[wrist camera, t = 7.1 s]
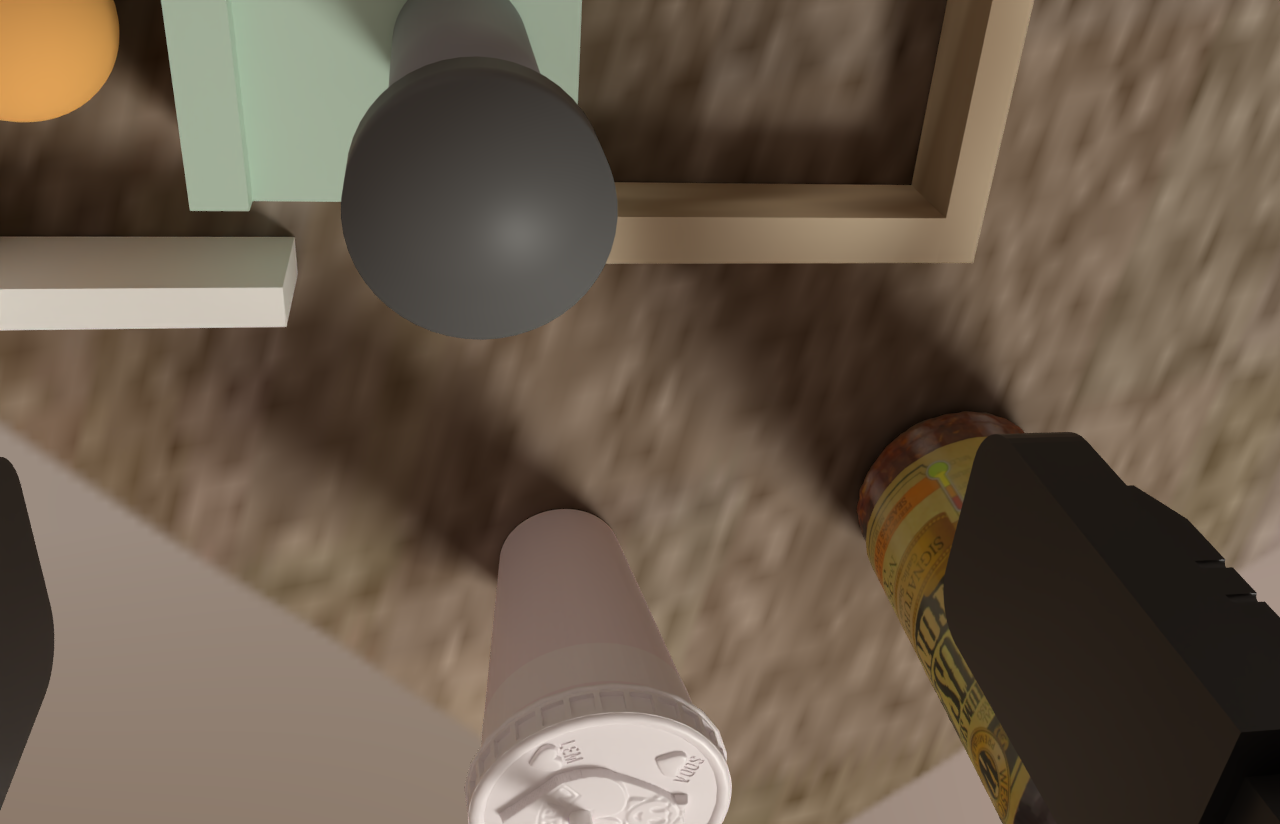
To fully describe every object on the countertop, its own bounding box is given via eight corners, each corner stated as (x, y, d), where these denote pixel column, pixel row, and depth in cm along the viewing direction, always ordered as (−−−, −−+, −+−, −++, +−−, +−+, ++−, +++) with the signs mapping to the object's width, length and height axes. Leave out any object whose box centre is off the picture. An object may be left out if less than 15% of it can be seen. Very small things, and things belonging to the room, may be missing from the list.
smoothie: (459, 469, 33) (481, 889, 21) (676, 472, 34) (811, 869, 23) (450, 639, 36) (465, 1086, 25) (649, 636, 38) (755, 1059, 26)
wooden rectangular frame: (1028, -202, 26) (1079, -195, 24) (937, 227, 32) (973, 262, 30) (401, -247, 24) (399, -244, 22) (416, 225, 29) (416, 264, 27)
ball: (-141, -69, 20) (-121, -102, 23) (-84, 154, 22) (-72, 97, 25) (108, -68, 22) (96, -99, 25) (140, 140, 24) (126, 87, 27)
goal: (243, -335, 23) (203, -345, 19) (298, 273, 29) (277, 368, 25) (-210, -372, 21) (-364, -393, 17) (-45, 275, 28) (-128, 374, 24)
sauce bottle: (849, 415, 34) (1257, 1086, 18) (1048, 387, 35) (1624, 1007, 18) (843, 585, 38) (1179, 1280, 21) (1024, 556, 38) (1491, 1208, 22)
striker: (570, -141, 25) (680, -34, 15) (560, 160, 29) (642, 422, 18) (176, -164, 24) (-18, -64, 13) (215, 155, 27) (86, 436, 17)
